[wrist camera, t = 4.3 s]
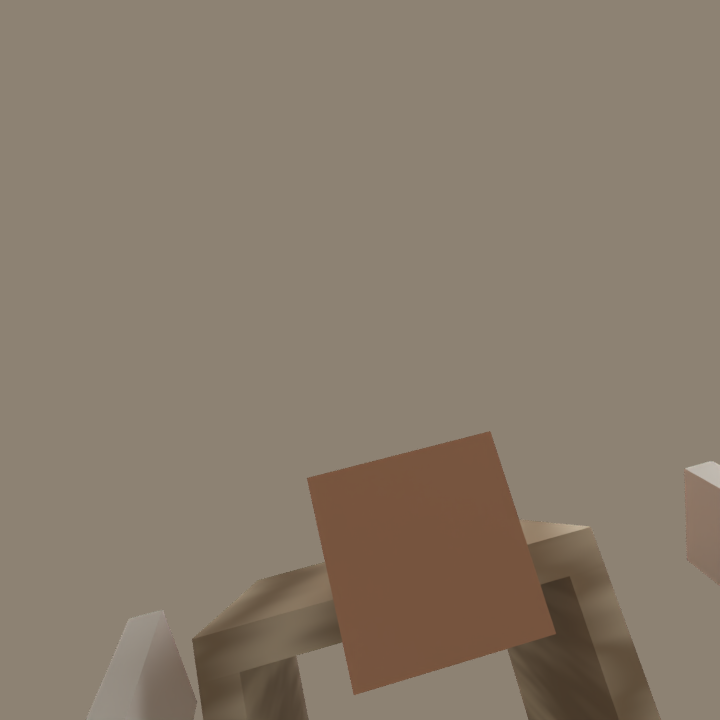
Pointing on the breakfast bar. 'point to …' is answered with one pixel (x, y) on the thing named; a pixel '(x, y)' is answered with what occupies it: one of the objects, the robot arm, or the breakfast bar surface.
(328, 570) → the bar
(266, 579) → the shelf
